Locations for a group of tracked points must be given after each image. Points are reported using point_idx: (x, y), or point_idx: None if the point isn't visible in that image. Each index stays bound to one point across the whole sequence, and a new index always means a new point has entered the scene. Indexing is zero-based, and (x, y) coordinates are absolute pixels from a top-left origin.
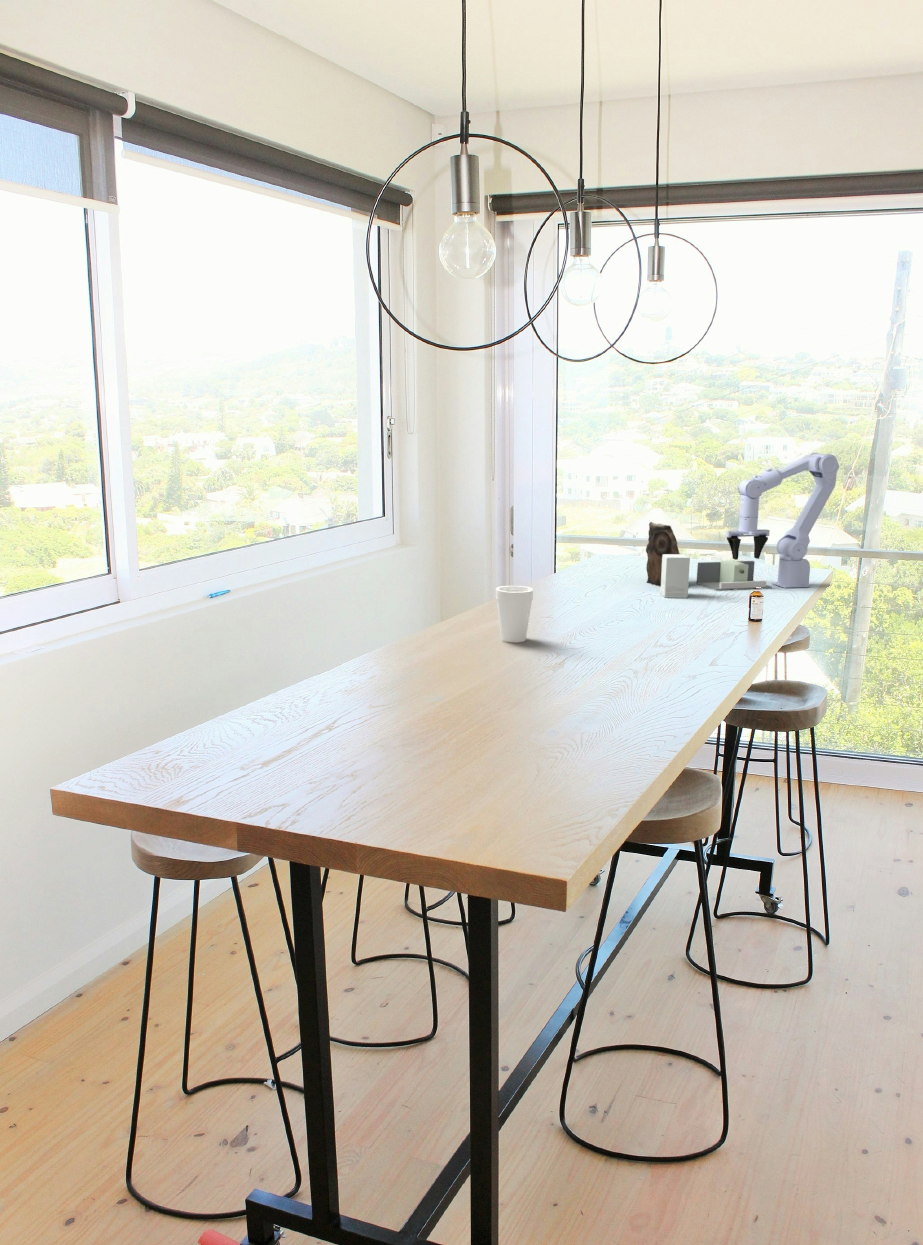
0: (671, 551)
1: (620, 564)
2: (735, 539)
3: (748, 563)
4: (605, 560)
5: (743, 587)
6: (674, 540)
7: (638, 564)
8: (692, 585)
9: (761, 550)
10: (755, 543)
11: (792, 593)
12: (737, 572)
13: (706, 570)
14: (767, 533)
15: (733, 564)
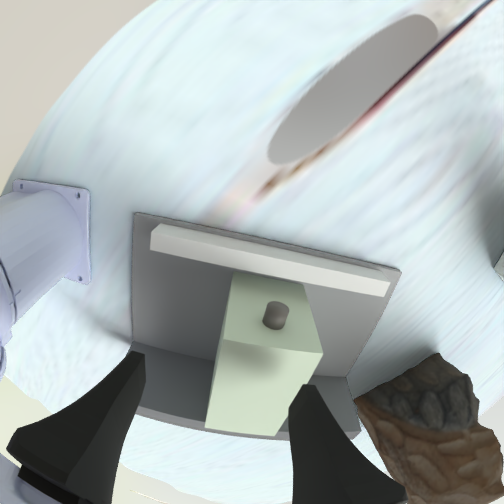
0: (487, 428)
1: (292, 490)
2: (406, 499)
3: None
4: (286, 499)
5: (279, 248)
6: (472, 470)
7: (265, 489)
8: (376, 363)
9: (99, 386)
10: (114, 462)
11: (134, 80)
12: (294, 322)
13: (329, 408)
14: (3, 478)
15: (300, 375)
